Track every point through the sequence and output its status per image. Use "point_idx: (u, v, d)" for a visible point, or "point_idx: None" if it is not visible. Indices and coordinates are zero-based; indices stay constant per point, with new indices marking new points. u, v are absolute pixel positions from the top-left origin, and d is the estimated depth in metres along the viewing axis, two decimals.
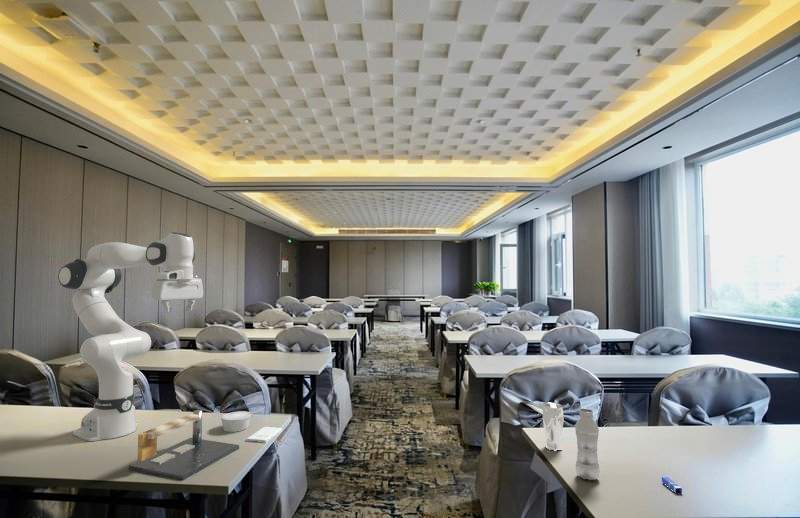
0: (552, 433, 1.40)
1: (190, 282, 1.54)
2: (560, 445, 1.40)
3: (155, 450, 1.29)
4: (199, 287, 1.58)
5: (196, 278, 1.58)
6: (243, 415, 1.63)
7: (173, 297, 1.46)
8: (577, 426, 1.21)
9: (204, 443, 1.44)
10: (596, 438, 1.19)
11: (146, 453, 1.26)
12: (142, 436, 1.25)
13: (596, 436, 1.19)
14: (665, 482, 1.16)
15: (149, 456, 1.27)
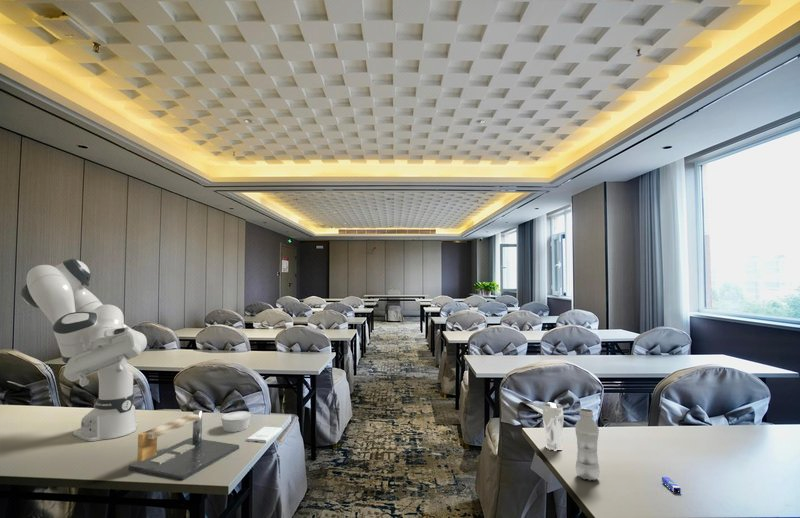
0: (552, 433, 1.40)
1: None
2: (560, 445, 1.40)
3: (155, 450, 1.29)
4: None
5: None
6: (243, 415, 1.63)
7: None
8: (577, 426, 1.21)
9: (204, 443, 1.44)
10: (596, 438, 1.19)
11: (146, 453, 1.26)
12: (142, 436, 1.25)
13: (596, 436, 1.19)
14: (665, 482, 1.16)
15: (149, 456, 1.27)
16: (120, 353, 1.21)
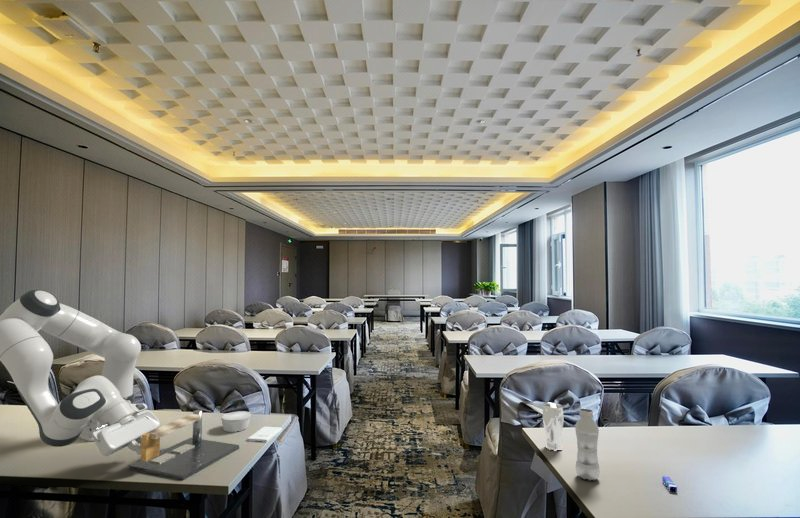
0: (552, 433, 1.40)
1: None
2: (560, 445, 1.40)
3: (158, 450, 1.29)
4: None
5: None
6: (243, 415, 1.63)
7: None
8: (577, 426, 1.21)
9: (204, 443, 1.44)
10: (596, 438, 1.19)
11: (149, 453, 1.26)
12: (146, 436, 1.25)
13: (596, 436, 1.19)
14: (664, 481, 1.17)
15: (152, 456, 1.27)
16: (152, 429, 1.33)
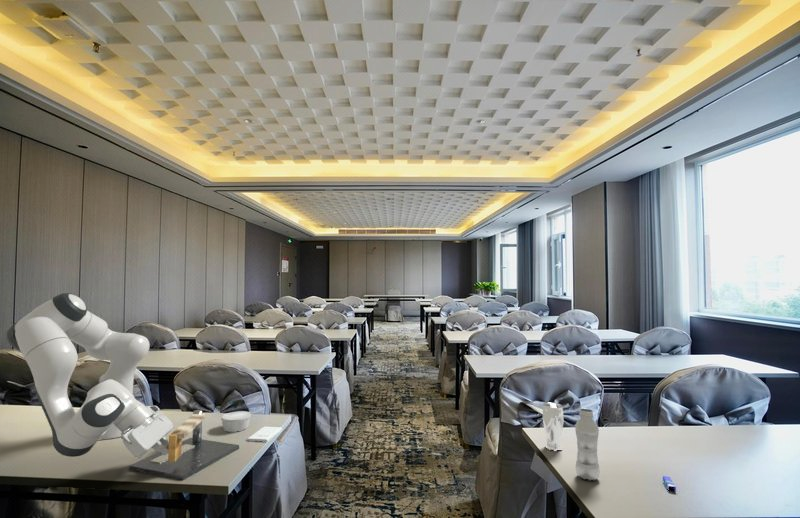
0: (552, 433, 1.40)
1: None
2: (560, 445, 1.40)
3: (180, 450, 1.29)
4: None
5: None
6: (243, 415, 1.63)
7: None
8: (577, 426, 1.21)
9: (204, 443, 1.44)
10: (596, 438, 1.19)
11: (177, 453, 1.26)
12: (174, 437, 1.25)
13: (596, 436, 1.19)
14: (664, 480, 1.17)
15: (178, 456, 1.27)
16: (169, 430, 1.32)
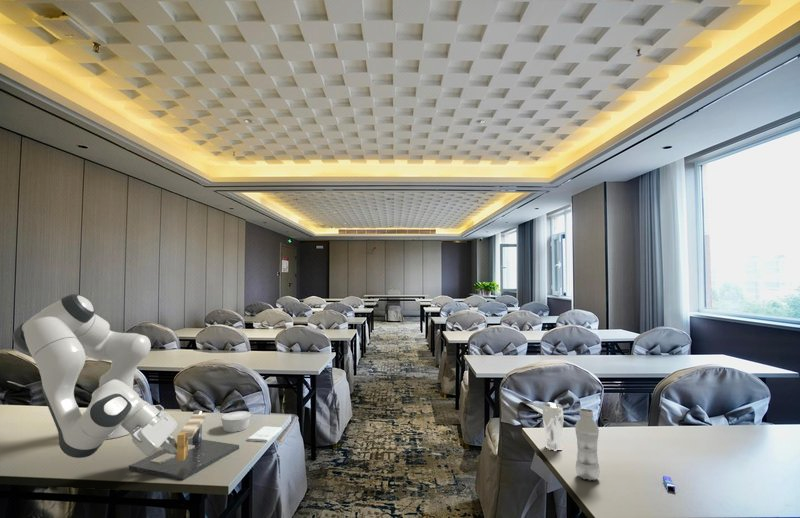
0: (552, 433, 1.40)
1: None
2: (560, 445, 1.40)
3: (187, 450, 1.29)
4: None
5: None
6: (243, 415, 1.63)
7: None
8: (577, 426, 1.21)
9: (204, 443, 1.44)
10: (596, 438, 1.19)
11: (185, 453, 1.26)
12: (183, 436, 1.25)
13: (596, 436, 1.19)
14: (664, 480, 1.17)
15: (185, 456, 1.27)
16: (174, 428, 1.32)
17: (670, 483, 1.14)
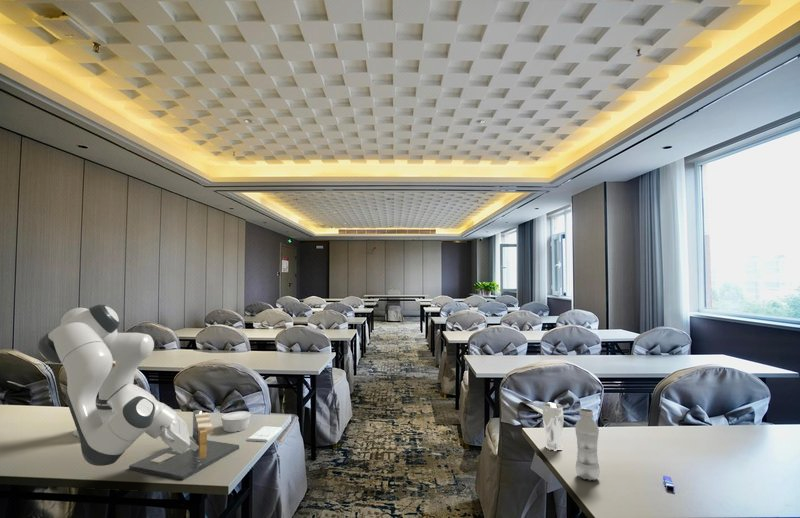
0: (552, 433, 1.40)
1: None
2: (560, 445, 1.40)
3: None
4: None
5: None
6: (243, 415, 1.63)
7: None
8: (577, 426, 1.21)
9: None
10: (596, 438, 1.19)
11: None
12: (206, 433, 1.28)
13: (596, 436, 1.19)
14: None
15: None
16: (187, 428, 1.32)
17: (669, 483, 1.14)
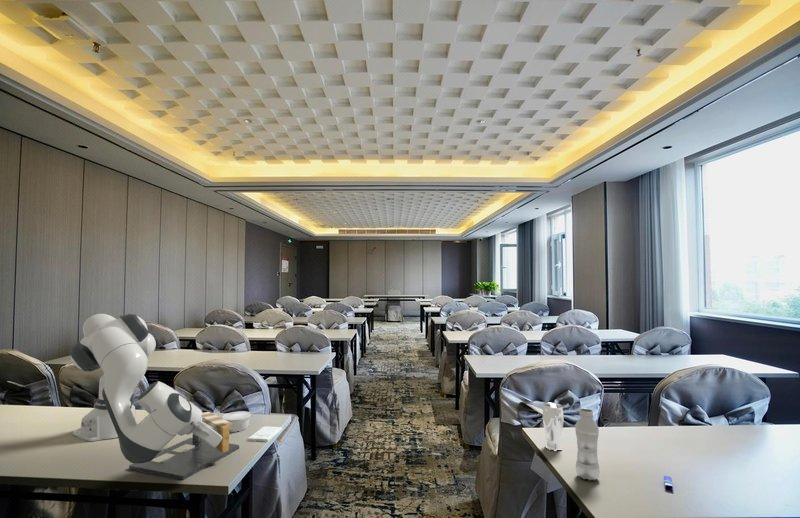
0: (552, 433, 1.40)
1: (192, 432, 1.23)
2: (560, 445, 1.40)
3: None
4: None
5: (197, 428, 1.20)
6: (243, 415, 1.63)
7: None
8: (577, 426, 1.21)
9: (204, 443, 1.44)
10: (596, 438, 1.19)
11: None
12: (228, 427, 1.32)
13: (596, 436, 1.19)
14: None
15: None
16: None
17: (668, 482, 1.14)
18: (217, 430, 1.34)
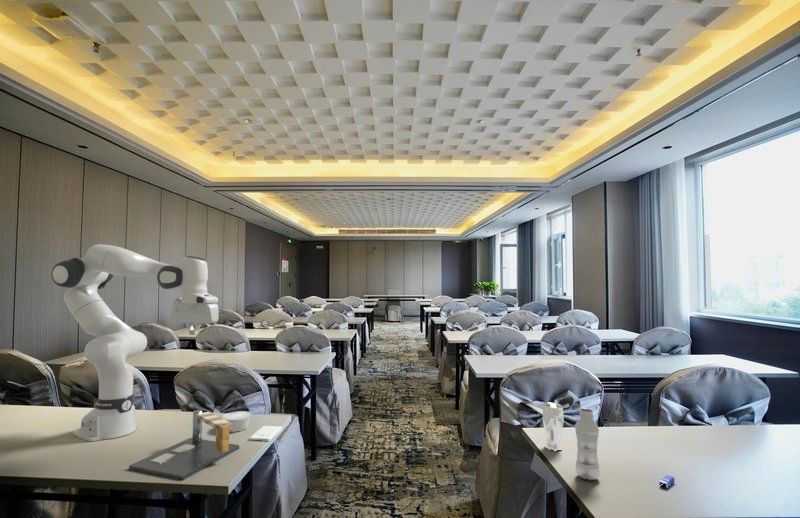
0: (552, 433, 1.40)
1: None
2: (560, 445, 1.40)
3: None
4: None
5: None
6: (243, 415, 1.63)
7: None
8: (577, 426, 1.21)
9: (204, 443, 1.44)
10: (596, 438, 1.19)
11: None
12: (228, 427, 1.32)
13: (596, 436, 1.19)
14: None
15: None
16: (202, 322, 1.50)
17: (665, 480, 1.16)
18: (217, 430, 1.34)
